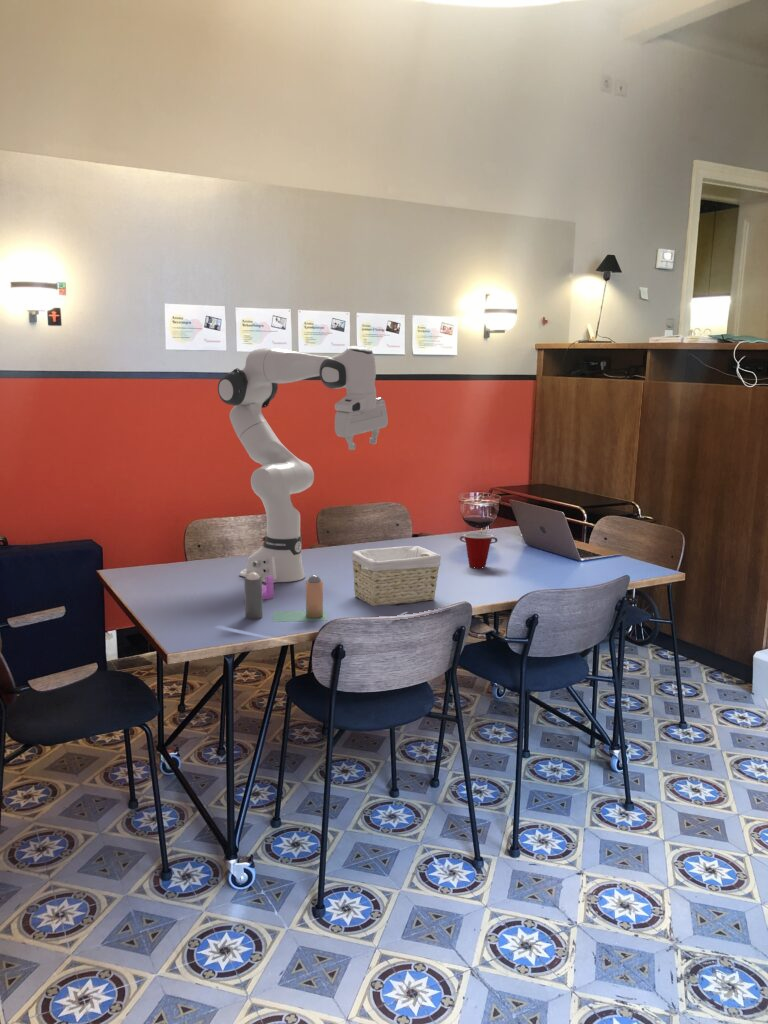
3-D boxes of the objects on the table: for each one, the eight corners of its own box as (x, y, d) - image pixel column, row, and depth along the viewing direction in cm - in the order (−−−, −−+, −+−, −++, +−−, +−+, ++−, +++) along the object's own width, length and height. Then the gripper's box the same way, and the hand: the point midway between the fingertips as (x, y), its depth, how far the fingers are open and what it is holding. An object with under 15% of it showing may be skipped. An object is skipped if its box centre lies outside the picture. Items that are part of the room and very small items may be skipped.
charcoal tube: (241, 620, 220) (240, 572, 217) (252, 616, 224) (251, 569, 221) (255, 623, 217) (254, 575, 215) (265, 618, 222) (265, 571, 219)
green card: (273, 624, 217) (273, 621, 217) (273, 614, 226) (273, 611, 226) (327, 623, 219) (327, 620, 219) (325, 613, 228) (325, 610, 227)
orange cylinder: (302, 616, 222) (302, 575, 219) (311, 612, 226) (311, 572, 224) (316, 619, 219) (317, 578, 217) (326, 614, 224) (326, 574, 221)
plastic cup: (489, 562, 290) (490, 531, 288) (494, 570, 279) (496, 537, 277) (460, 562, 289) (461, 530, 287) (464, 570, 279) (465, 537, 277)
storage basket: (416, 587, 256) (417, 543, 253) (441, 601, 241) (443, 554, 239) (349, 596, 245) (349, 550, 243) (371, 610, 231) (372, 561, 228)
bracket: (273, 598, 241) (273, 577, 240) (255, 600, 239) (255, 578, 238) (264, 587, 253) (264, 566, 252) (247, 589, 251) (247, 568, 250)
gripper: (376, 395, 245) (377, 439, 249) (330, 405, 230) (332, 451, 235) (392, 397, 241) (392, 441, 245) (346, 407, 226) (347, 454, 231)
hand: (362, 446), depth 240 cm, fingers open, 8 cm apart
